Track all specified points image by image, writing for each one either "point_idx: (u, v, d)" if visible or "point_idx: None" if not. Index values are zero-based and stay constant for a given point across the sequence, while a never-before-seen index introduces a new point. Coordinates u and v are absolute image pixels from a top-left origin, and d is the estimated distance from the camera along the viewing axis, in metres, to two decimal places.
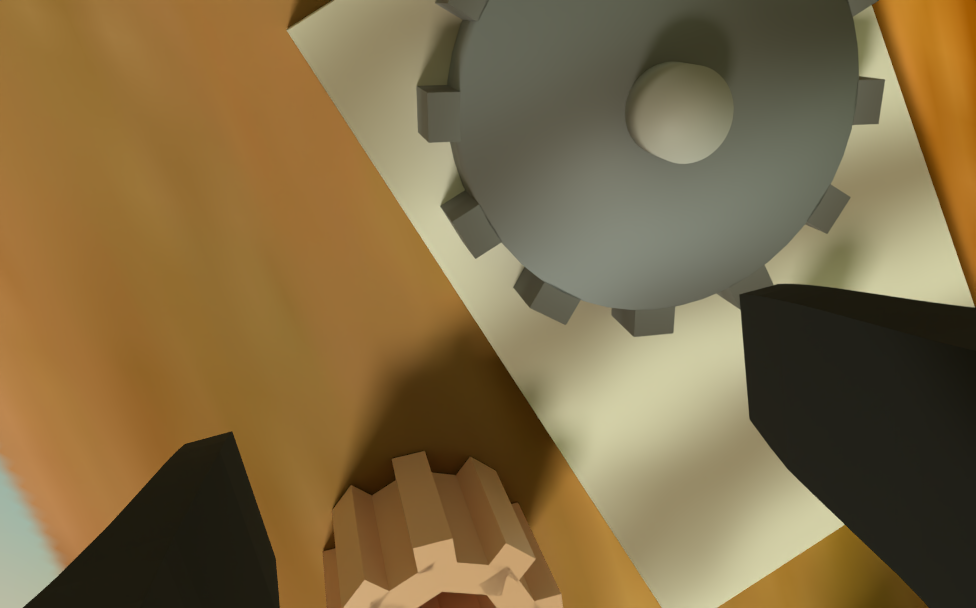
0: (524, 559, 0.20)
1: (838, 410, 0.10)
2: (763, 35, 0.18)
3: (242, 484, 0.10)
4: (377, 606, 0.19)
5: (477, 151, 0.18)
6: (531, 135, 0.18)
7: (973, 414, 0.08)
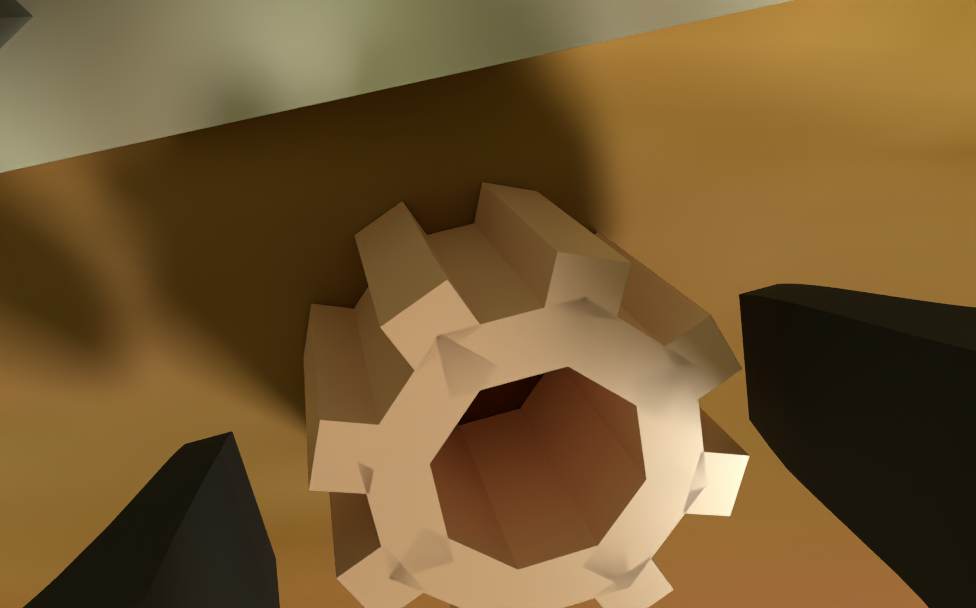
0: (435, 302, 0.09)
1: (838, 410, 0.10)
2: None
3: (242, 484, 0.10)
4: (402, 571, 0.10)
5: None
6: None
7: (973, 414, 0.08)
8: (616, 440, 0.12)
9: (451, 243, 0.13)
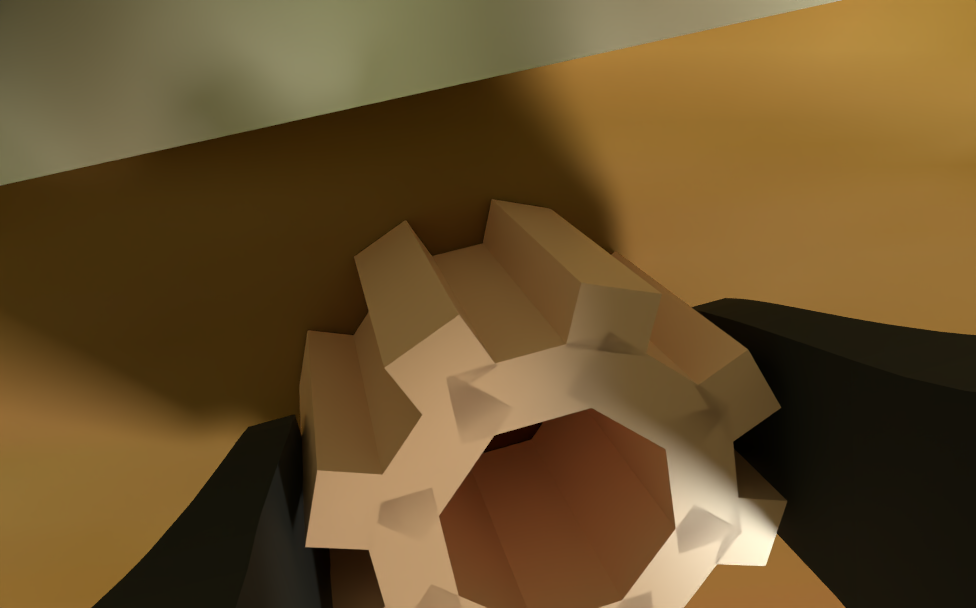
0: (445, 340, 0.08)
1: (776, 428, 0.10)
2: None
3: None
4: None
5: None
6: None
7: (896, 437, 0.08)
8: (639, 481, 0.11)
9: (458, 266, 0.12)
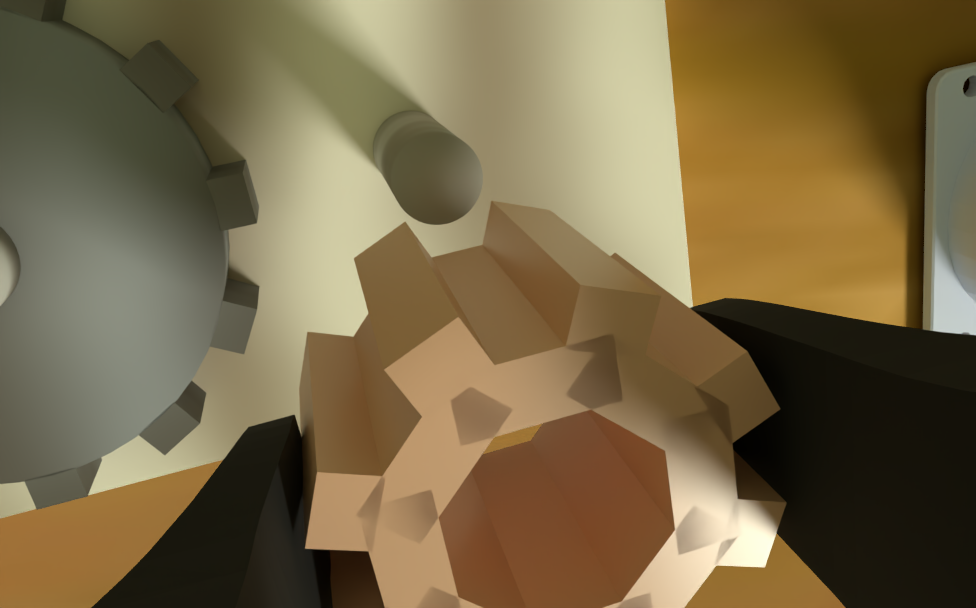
0: (445, 342, 0.08)
1: (776, 429, 0.10)
2: None
3: None
4: None
5: None
6: None
7: (896, 438, 0.08)
8: (639, 483, 0.11)
9: (458, 268, 0.12)
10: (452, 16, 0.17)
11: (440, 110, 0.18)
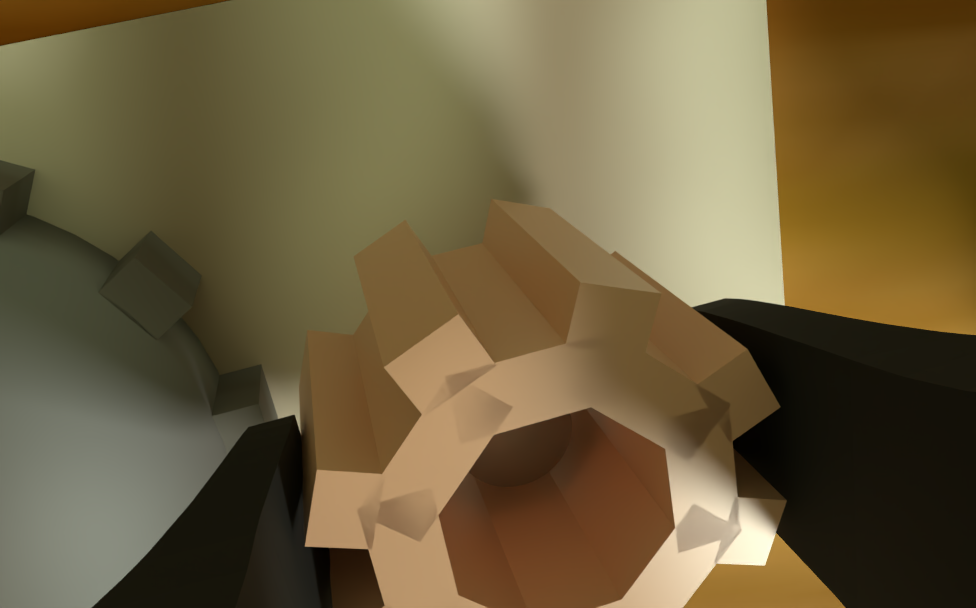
0: (445, 339, 0.08)
1: (776, 428, 0.10)
2: None
3: None
4: None
5: None
6: None
7: (896, 438, 0.08)
8: (638, 481, 0.11)
9: (458, 266, 0.12)
10: (516, 182, 0.14)
11: None
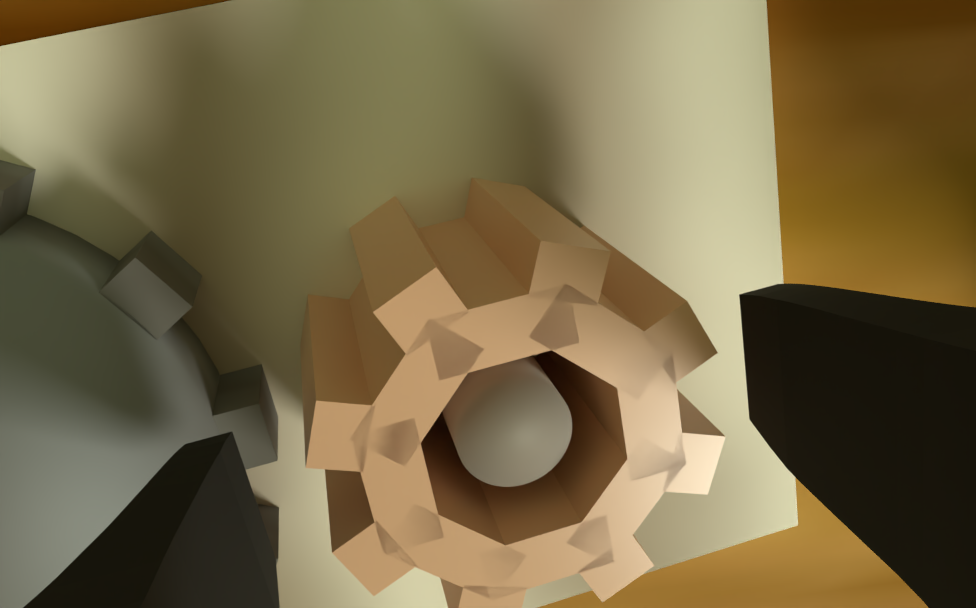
0: (425, 289, 0.10)
1: (838, 410, 0.10)
2: None
3: (242, 484, 0.10)
4: (394, 545, 0.11)
5: None
6: None
7: (973, 414, 0.08)
8: (599, 423, 0.12)
9: (441, 236, 0.13)
10: (517, 182, 0.14)
11: None
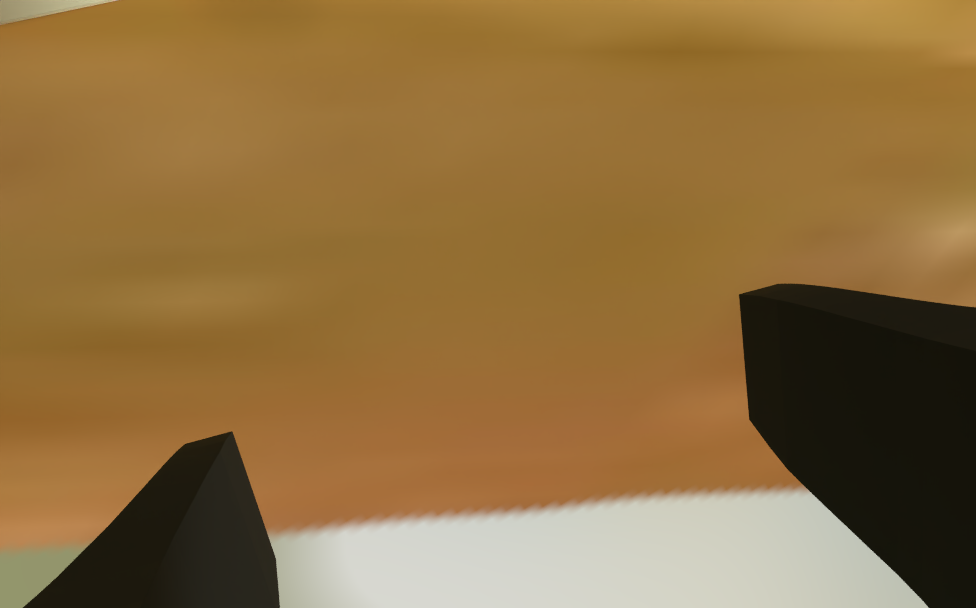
0: None
1: (838, 410, 0.10)
2: None
3: (242, 484, 0.10)
4: None
5: None
6: None
7: (973, 414, 0.08)
8: None
9: None
10: None
11: None
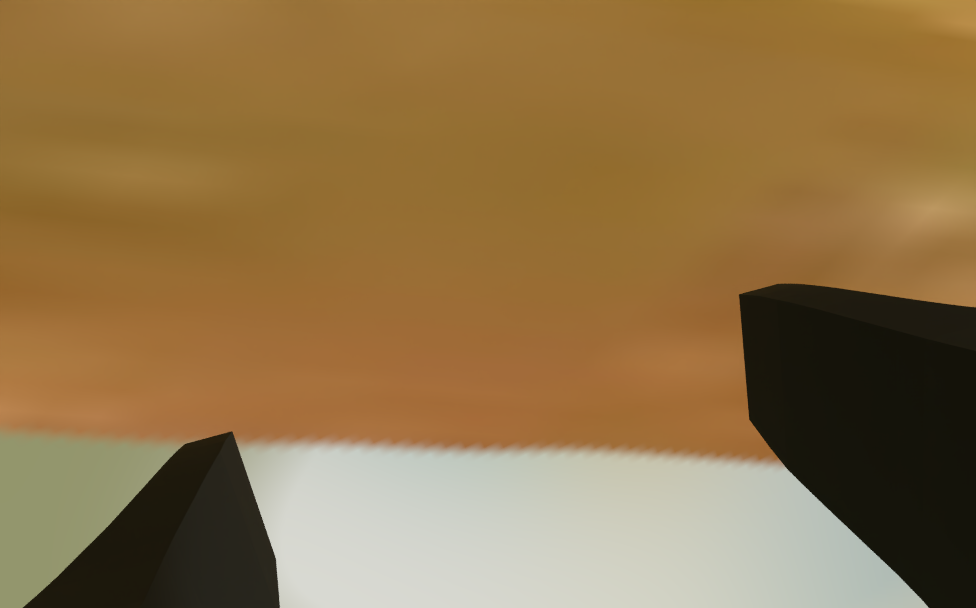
0: None
1: (838, 410, 0.10)
2: None
3: (242, 484, 0.10)
4: None
5: None
6: None
7: (973, 414, 0.08)
8: None
9: None
10: None
11: None
